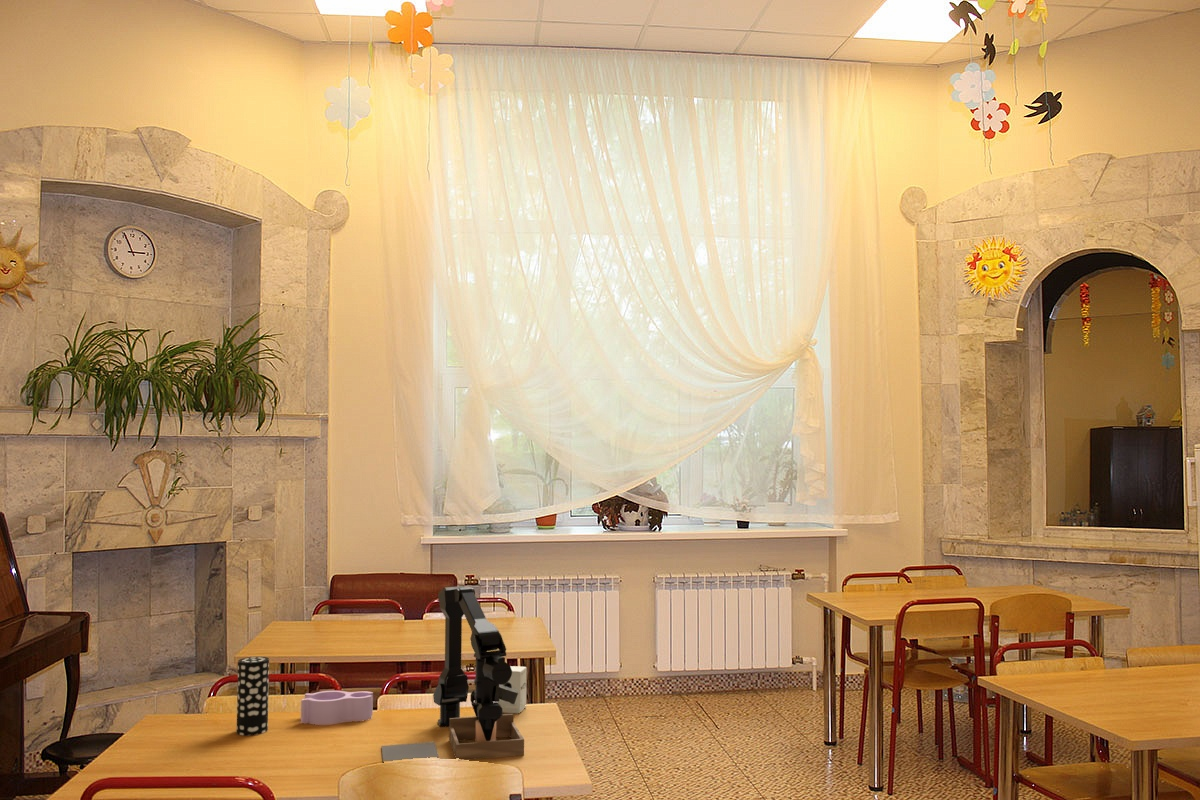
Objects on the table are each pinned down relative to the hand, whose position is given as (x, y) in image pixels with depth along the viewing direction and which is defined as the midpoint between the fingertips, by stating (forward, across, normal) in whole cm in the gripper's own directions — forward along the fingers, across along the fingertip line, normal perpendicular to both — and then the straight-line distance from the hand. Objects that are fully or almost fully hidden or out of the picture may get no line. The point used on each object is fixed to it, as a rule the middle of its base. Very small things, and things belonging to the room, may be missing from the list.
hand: (485, 735), depth 252 cm
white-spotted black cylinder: (+3, +32, +62) cm, 70 cm away
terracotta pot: (+3, 0, 0) cm, 3 cm away
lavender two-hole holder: (+4, +39, +39) cm, 55 cm away
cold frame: (+3, 0, 0) cm, 3 cm away
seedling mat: (+3, 0, +20) cm, 20 cm away
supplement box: (+3, +35, -13) cm, 37 cm away
